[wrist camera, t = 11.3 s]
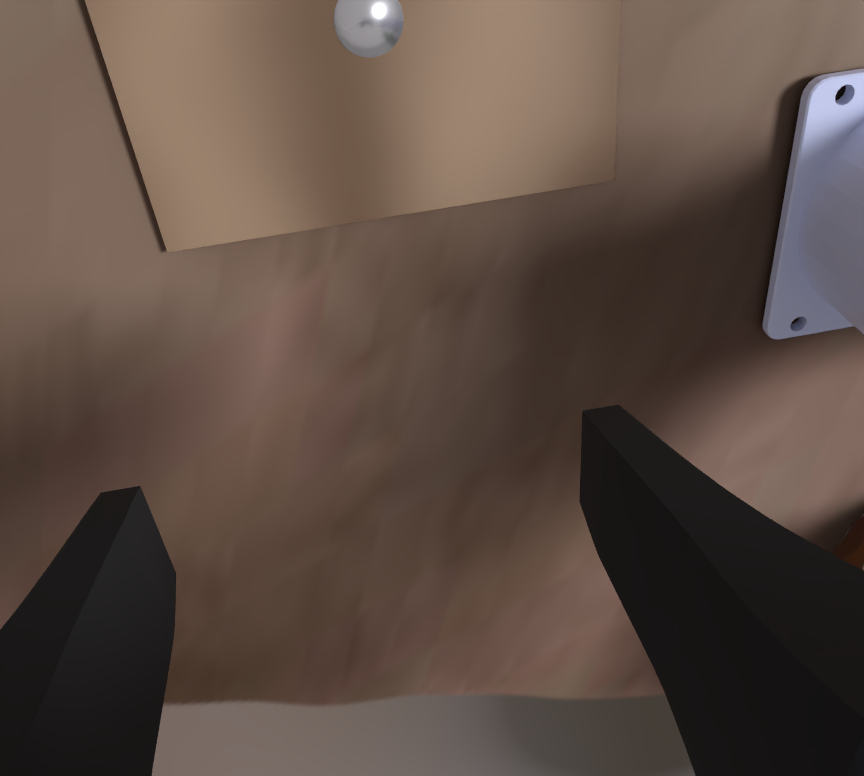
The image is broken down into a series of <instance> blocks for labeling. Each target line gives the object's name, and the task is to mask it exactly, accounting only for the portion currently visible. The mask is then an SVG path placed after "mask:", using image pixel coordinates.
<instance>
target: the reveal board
mask: <svg viewBox="0 0 864 776" xmlns="http://www.w3.org/2000/svg"><path fill="white" fill-rule="evenodd" d="M85 3H86V6H87V9H88V12H89V15H90V18H91V21H92V24H93V27H94V30H95V33H96V36H97V39H98V42H99V45H100V48H101V52H102V55H103V58H104V61H105V64H106V67H107V70H108V73H109V76H110V79H111V82H112V85H113V88H114V91H115V94H116V97H117V100H118V103H119V107H120V110H121V113H122V116H123V119H124V122H125V125H126V128H127V131H128V134H129V137H130V140H131V143H132V146H133V149H134V152H135V155H136V158H137V161H138V165H139V168H140V171H141V174H142V177H143V180H144V183H145V186H146V189H147V192H148V195H149V198H150V201H151V204H152V207H153V210H154V213H155V216H156V219H157V223H158V226H159V229H160V232H161V235H162V238H163V241H164V244H165V247H166V250H167V252H173V251H180V250H186V249H192V248H198V247H204V246H211V245H217V244H223V243H229V242H236V241H242V240H248V239H254V238H260V237H267V236H273V235H279V234H285V233H292V232H298V231H304V230H310V229H316V228H323V227H329V226H335V225H341V224H348V223H354V222H360V221H366V220H373V219H379V218H385V217H391V216H397V215H404V214H410V213H416V212H422V211H429V210H435V209H441V208H447V207H453V206H460V205H466V204H472V203H478V202H485V201H491V200H497V199H503V198H509V197H516V196H522V195H528V194H534V193H541V192H547V191H553V190H559V189H565V188H572V187H578V186H584V185H590V184H597V183H603V182H609V181H615V156H616V129H617V102H618V75H619V48H620V21H621V0H85Z"/></svg>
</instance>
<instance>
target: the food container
mask: <svg viewBox="0 0 864 776" xmlns="http://www.w3.org/2000/svg"><path fill="white" fill-rule="evenodd" d="M833 555H834V556H836V557H838V558H840V559H842V560H844V561H846V562H848V563H850V564H852V565H854V566H856V567H858V568H860V569H862V570H864V514H863V515H862V516H861V517H860V518H858V519H857V520H856V521H855V522H854V523H853V524H852V526H851V527H850V528H849V530H848V531H847V533H846V534H845V535H844V537H843V538H842V540H841V541H840V542H839V544H838V545H837V547H836V548H835V550H834V553H833Z"/></svg>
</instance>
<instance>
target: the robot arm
mask: <svg viewBox="0 0 864 776" xmlns="http://www.w3.org/2000/svg"><path fill="white" fill-rule="evenodd" d="M845 85H846V90H845V93H844V95H843V96H842V97H841V98H840V99H839V100H836V101H835V96H836V93H837V91H838V90H839V89H840V88H841V87H842V86H845ZM798 317H799V320H798V321H797V322H796V323H794V324H792V325H791V323H792V321H794V320H795V319H796V318H798ZM853 326H855V327H856V328H857V329H858V330H859V331H861V332H862V333H863V334H864V68H863V69H856V70H850V71H843V72H837V73H830V74H824V75H820V76H818V77H815V78H814V79H813V80H811V81H810V82H809V83H808V84H807V86H806V87H805V89H804V90H803V93H802V96H801V101H800V107H799V113H798V119H797V125H796V130H795V136H794V142H793V148H792V154H791V160H790V166H789V172H788V177H787V183H786V189H785V195H784V201H783V207H782V213H781V219H780V224H779V230H778V236H777V242H776V248H775V254H774V260H773V265H772V271H771V277H770V283H769V289H768V295H767V301H766V307H765V312H764V318H763V330H764V331H765V333H766V334H767V335H768V336H769V337H770V338H772V339H785V338H791V337H797V336H802V335H808V334H813V333H819V332H825V331H830V330H836V329H842V328H847V327H853ZM580 504H581V507H582V510H583V513H584V516H585V519H586V522H587V525H588V528H589V531H590V533H591V536H592V539H593V542H594V545H595V547H596V550H597V553H598V555H599V557H600V560H601V562H602V564H603V566H604V568H605V570H606V572H607V574H608V576H609V578H610V580H611V582H612V584H613V586H614V588H615V590H616V592H617V594H618V596H619V598H620V600H621V603H622V605H623V607H624V609H625V611H626V613H627V615H628V617H629V619H630V621H631V623H632V625H633V627H634V629H635V631H636V633H637V635H638V637H639V639H640V641H641V643H642V645H643V647H644V649H645V651H646V653H647V655H648V657H649V659H650V661H651V663H652V665H653V667H654V669H655V671H656V674H657V676H658V678H659V680H660V683H661V685H662V687H663V689H664V692H665V694H666V696H667V699H668V702H669V704H670V707H671V710H672V712H673V715H674V718H675V720H676V723H677V726H678V728H679V731H680V734H681V736H682V739H683V742H684V744H685V747H686V749H687V753H688V755H689V758H690V761H691V764H692V766H693V769H694V772H695V775H696V776H864V570H862V569H860V568H858V567H856V566H854V565H852V564H850V563H848V562H846V561H844V560H842V559H840V558H838V557H836V556H834V555H832V554H830V553H828V552H827V551H825V550H823V549H821V548H819V547H818V546H816V545H814V544H812V543H810V542H809V541H807V540H805V539H803V538H802V537H800V536H798V535H796V534H795V533H793V532H791V531H789V530H788V529H786V528H784V527H783V526H781V525H779V524H778V523H776V522H774V521H773V520H771V519H770V518H768V517H766V516H765V515H763V514H762V513H760V512H759V511H757V510H756V509H754V508H753V507H751V506H750V505H748V504H747V503H745V502H744V501H742V500H741V499H739V498H738V497H736V496H735V495H733V494H732V493H730V492H729V491H728V490H726V489H725V488H723V487H722V486H720V485H719V484H718V483H716V482H715V481H714V480H712V479H711V478H710V477H708V476H707V475H706V474H704V473H703V472H702V471H700V470H699V469H698V468H696V467H695V466H694V465H692V464H691V463H690V462H689V461H687V460H686V459H685V458H683V457H682V456H681V455H680V454H678V453H677V452H676V451H675V450H673V449H672V448H671V447H670V446H668V445H667V444H666V443H665V442H663V441H662V440H661V439H660V438H659V437H657V436H656V435H655V434H654V433H652V432H651V431H650V430H649V429H648V428H646V427H645V426H644V425H643V424H641V423H640V422H639V421H638V420H637V419H635V418H634V417H633V416H632V415H630V414H629V413H628V412H627V411H625V410H624V409H623V408H622V407H620V406H619V405H615V406H609V407H603V408H597V409H591V410H585V411H583V415H582V445H581V475H580ZM175 602H176V572H175V570H174V567H173V565H172V562H171V560H170V558H169V555H168V553H167V550H166V548H165V545H164V543H163V540H162V538H161V536H160V533H159V531H158V528H157V526H156V523H155V521H154V519H153V516H152V514H151V511H150V509H149V506H148V504H147V501H146V499H145V497H144V494H143V492H142V489H141V487H140V486H138V487H132V488H126V489H120V490H114V491H108V492H102V493H100V495H99V496H98V497H97V499H96V500H95V502H94V503H93V504H92V506H91V507H90V508H89V510H88V511H87V513H86V514H85V515H84V517H83V518H82V520H81V521H80V523H79V524H78V525H77V527H76V528H75V530H74V531H73V533H72V534H71V536H70V537H69V538H68V540H67V541H66V543H65V544H64V546H63V547H62V548H61V550H60V551H59V553H58V554H57V555H56V557H55V558H54V560H53V561H52V563H51V564H50V565H49V567H48V568H47V569H46V571H45V572H44V573H43V575H42V576H41V577H40V579H39V580H38V582H37V583H36V584H35V586H34V587H33V588H32V590H31V591H30V592H29V594H28V595H27V597H26V598H25V599H24V601H23V602H22V603H21V605H20V606H19V607H18V608H17V610H16V611H15V612H14V614H13V615H12V616H11V617H10V618H9V620H8V621H7V622H6V623H5V625H4V626H3V627H2V628H1V630H0V776H152V768H153V761H154V755H155V749H156V743H157V737H158V731H159V725H160V719H161V713H162V707H163V701H164V695H165V689H166V683H167V676H168V670H169V664H170V657H171V651H172V645H173V638H174V628H175Z"/></svg>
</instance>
